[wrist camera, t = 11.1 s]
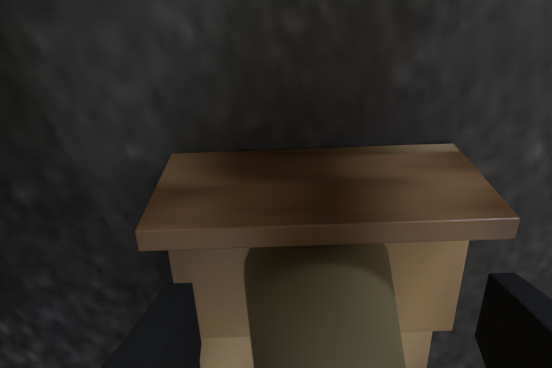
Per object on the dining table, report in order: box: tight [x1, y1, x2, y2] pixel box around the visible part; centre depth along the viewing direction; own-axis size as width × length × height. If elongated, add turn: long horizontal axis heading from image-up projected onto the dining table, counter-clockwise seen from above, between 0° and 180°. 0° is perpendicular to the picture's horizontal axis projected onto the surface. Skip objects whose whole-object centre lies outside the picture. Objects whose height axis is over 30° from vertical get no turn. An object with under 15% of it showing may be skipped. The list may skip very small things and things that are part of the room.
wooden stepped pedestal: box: [135, 143, 520, 368], centre depth 21 cm, size 12×16×6 cm
